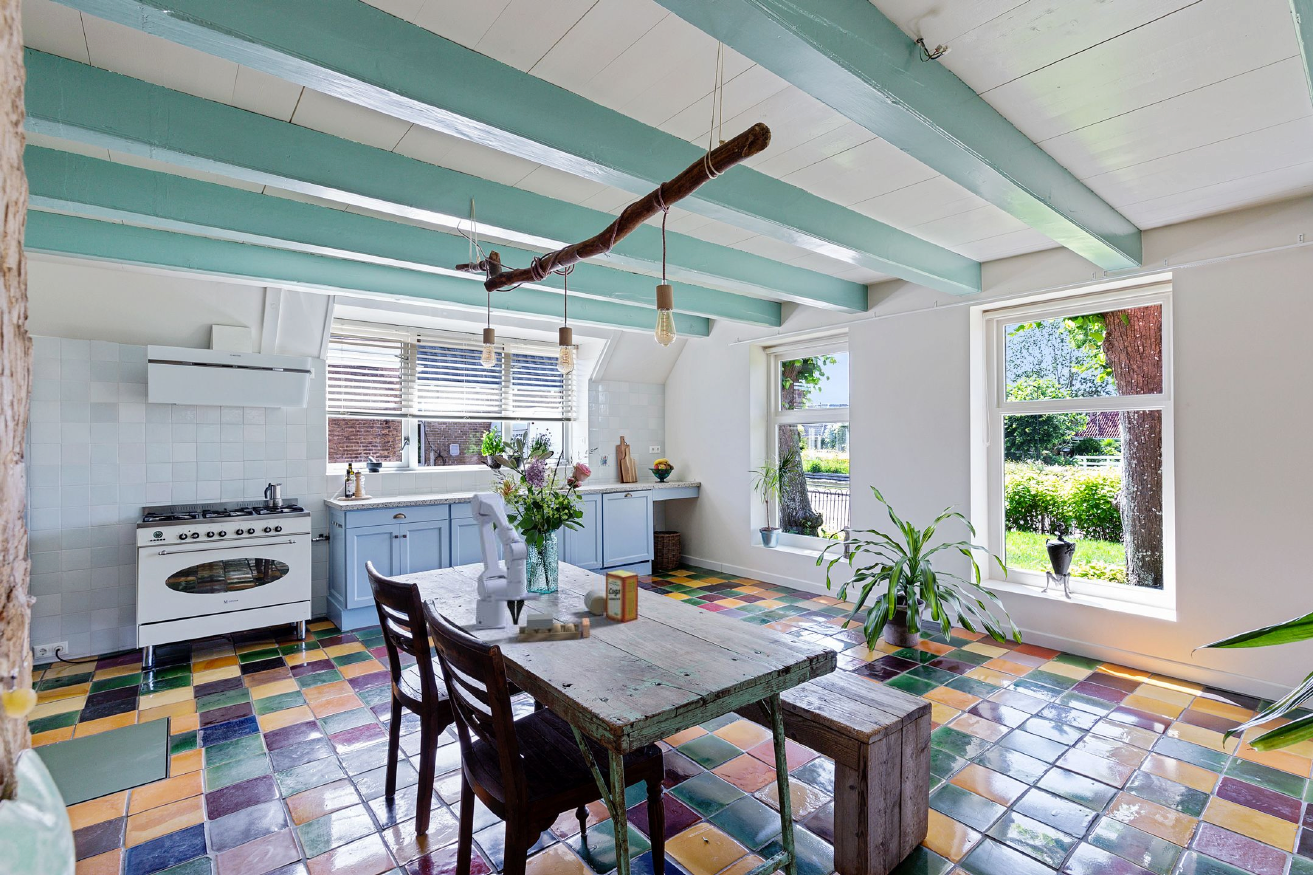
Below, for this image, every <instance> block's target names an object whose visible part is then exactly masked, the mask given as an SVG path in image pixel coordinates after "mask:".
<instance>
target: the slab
mask: <svg viewBox="0 0 1313 875" xmlns="http://www.w3.org/2000/svg"><path fill="white" fill-rule="evenodd" d="M553 623H554V616H553V613H550V612H549V613H532V614H526V626H527V630H530V629H550V628H553Z"/></svg>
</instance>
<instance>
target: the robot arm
mask: <svg viewBox="0 0 1313 875" xmlns="http://www.w3.org/2000/svg"><path fill="white" fill-rule="evenodd" d="M505 502H506V501H505V497H504V495H503V493H502V492H496V493H495V492H493V493H492V492H491V493H474V494H473V495H472V497H471V502H470V507H471V508H470V509H471V516H472V519H473V521H474V522H475V521H476V522H477V530H478V536H479V542H480V548H481V549H480V550H481V555H482V561H483V562H482V563H483V568H484V570H483V571H482V572H481V573H480V574H479V575H478V577H477V582H476V583H477V590H476V591H477V595H478V597H479V598H478V599H477V600H476V603H475V605H476V606H475V607H476V608H475V611H476V612H475V629H477V630H483V629H502V628H506V627H507V624H508V620H507V619H506V607H507V608H508V611H509V613H510V616H511V620H512V624H513V626H517V625H519V620H520V619H519V618H520V616H521V613H522V610H523V608H524V606H525V601H537V602H538V601H540V592H526V560H527V559H528V558H529V553H530V549H529V546H528V544H527V541H525V540H523V539H521V538H520V536H519V535H518V532H517V530H516V528H515V526H514V525H513V524H511V523H509V521H508V518H507V515H506V512H505V510H504V509H505ZM494 524H495V526H496V528H497V532H496V535H497V536H498V539H499V542H500V544H501V545H502V547H503V551H502V552H503V553H502V555H503V559H504V567H506V570H504V569H503V568H501V567H500V562H499V557H498V556H499V554H498V550H497V543H496V536H495V530H494Z"/></svg>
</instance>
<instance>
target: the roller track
mask: <svg viewBox="0 0 1313 875" xmlns="http://www.w3.org/2000/svg"><path fill="white" fill-rule="evenodd" d="M566 624H567V623H564V624H563V623H562V624H560V623H559V622H553V628H550V629H530V630H527V625H521V626H518V630H519V631H518V635H517V639H518V640H517V642H518V643H525V642H541V641H542V642H544V641H546V642H547V641H562V640H577V639H578V640H581V631H579V629H580V624H579V623H572V624H573V625H574V628H575V632H565V625H566Z"/></svg>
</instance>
